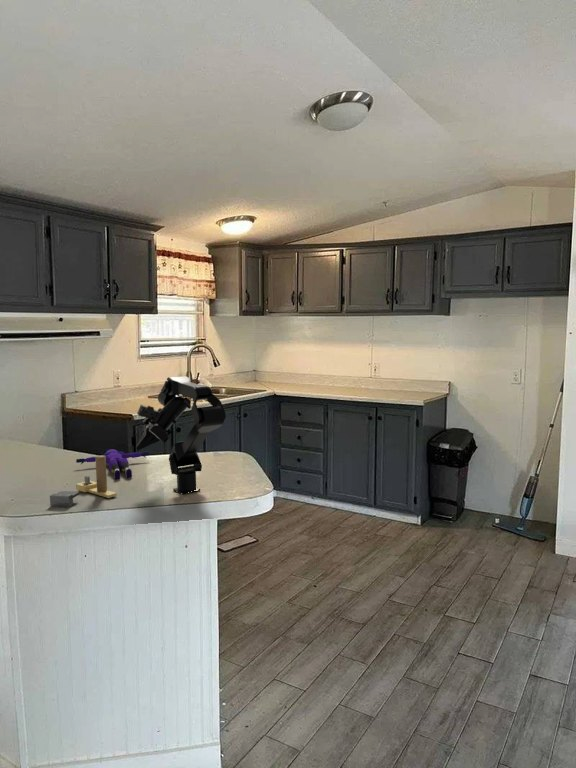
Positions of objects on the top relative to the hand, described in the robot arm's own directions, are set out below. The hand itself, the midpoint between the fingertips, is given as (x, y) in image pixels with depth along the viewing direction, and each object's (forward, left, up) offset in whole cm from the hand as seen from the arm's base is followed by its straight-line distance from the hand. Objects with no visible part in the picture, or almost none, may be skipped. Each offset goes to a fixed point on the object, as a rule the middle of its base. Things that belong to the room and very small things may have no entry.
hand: (137, 449), depth 177 cm
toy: (+31, -7, -14) cm, 35 cm away
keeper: (+3, +22, -14) cm, 26 cm away
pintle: (+12, +12, -14) cm, 21 cm away
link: (+6, +11, -13) cm, 18 cm away
